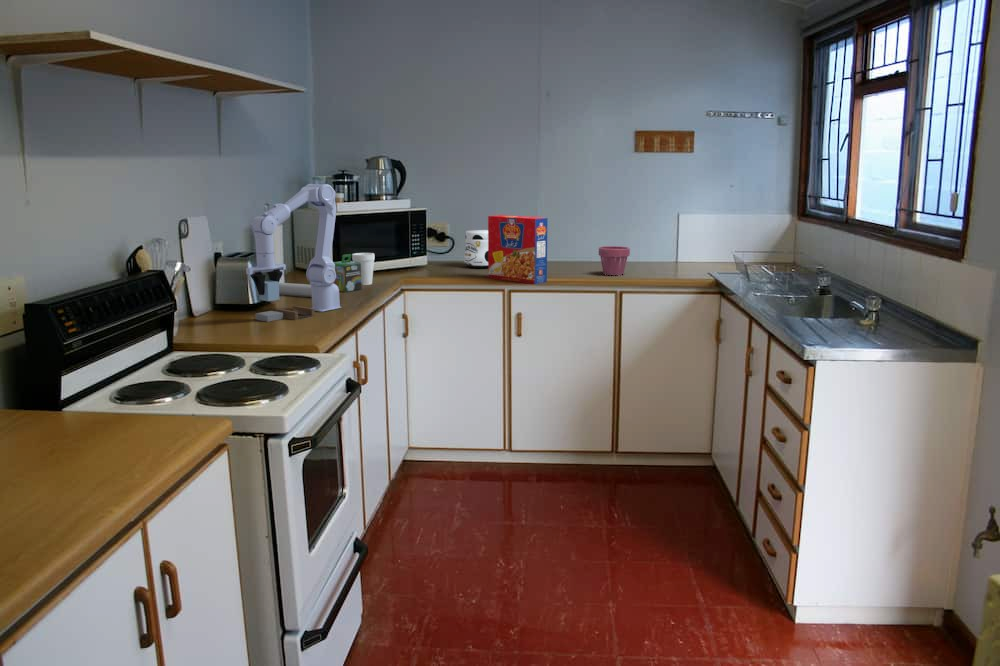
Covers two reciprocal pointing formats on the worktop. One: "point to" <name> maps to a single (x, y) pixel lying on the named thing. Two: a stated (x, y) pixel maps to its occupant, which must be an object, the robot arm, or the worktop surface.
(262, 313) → the stand
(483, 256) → the milk container
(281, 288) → the tube
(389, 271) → the worktop surface
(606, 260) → the plant pot
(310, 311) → the channel
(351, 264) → the chalk box
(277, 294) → the block
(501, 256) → the pasta box
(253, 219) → the robot arm
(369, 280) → the foam cup
